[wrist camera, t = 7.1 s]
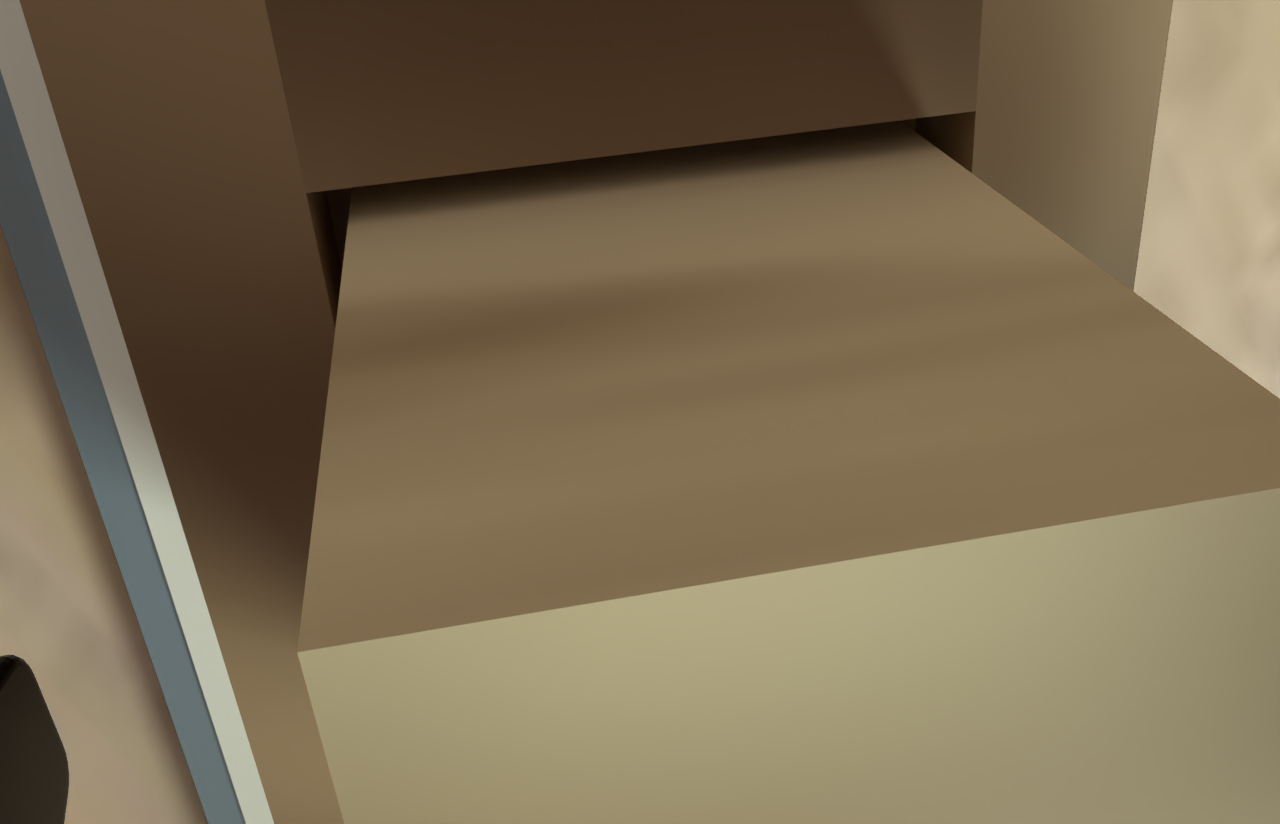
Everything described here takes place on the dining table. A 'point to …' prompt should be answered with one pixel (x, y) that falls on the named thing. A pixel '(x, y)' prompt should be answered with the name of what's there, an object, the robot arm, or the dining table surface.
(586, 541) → the oak block
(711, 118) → the base block
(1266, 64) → the dining table surface
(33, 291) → the board
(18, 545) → the dining table surface
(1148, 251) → the dining table surface
